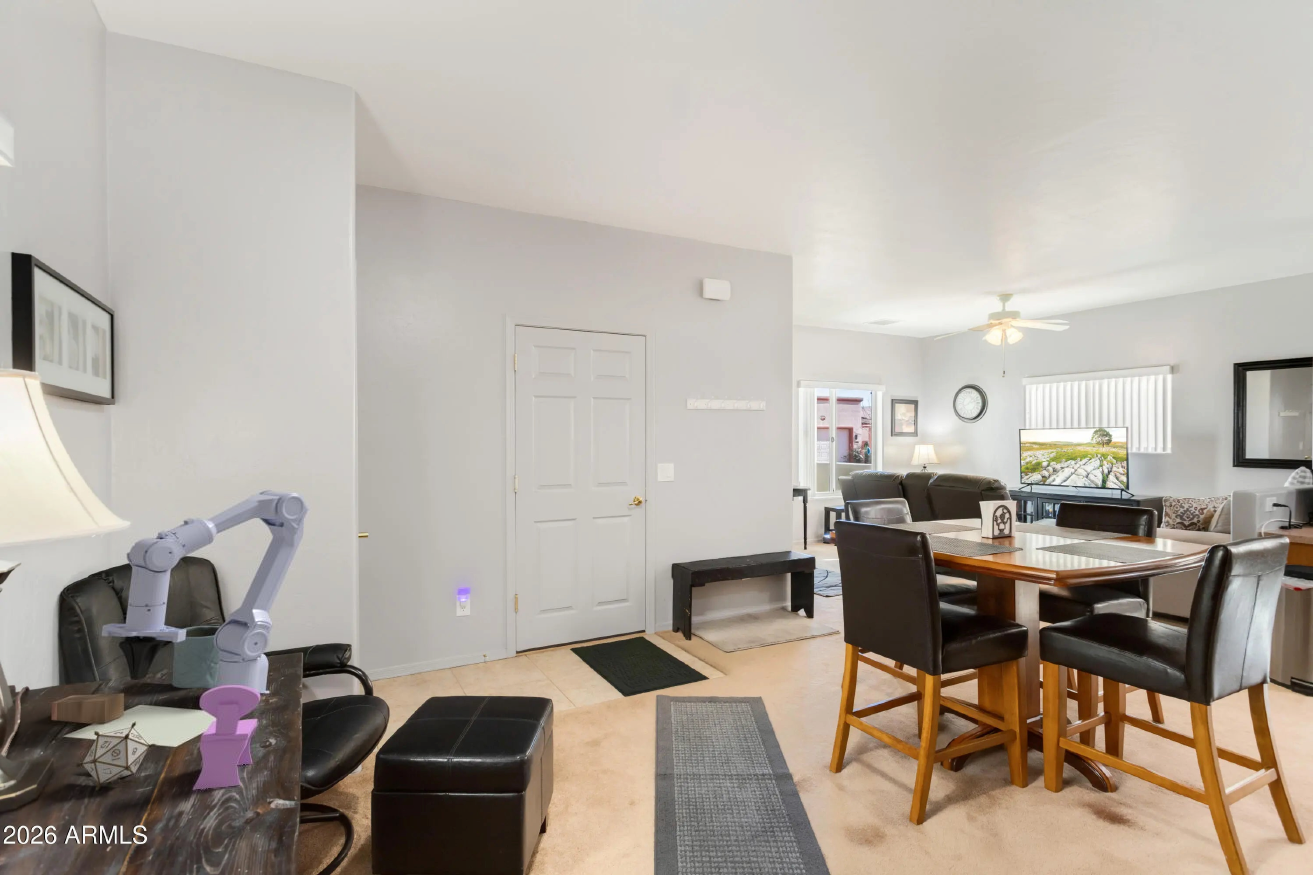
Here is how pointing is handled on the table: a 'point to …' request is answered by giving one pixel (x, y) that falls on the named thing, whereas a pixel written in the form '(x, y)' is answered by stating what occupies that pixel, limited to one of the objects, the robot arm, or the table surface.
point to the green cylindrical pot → (196, 659)
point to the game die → (115, 755)
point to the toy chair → (226, 734)
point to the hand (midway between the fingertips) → (138, 678)
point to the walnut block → (89, 708)
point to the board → (154, 725)
